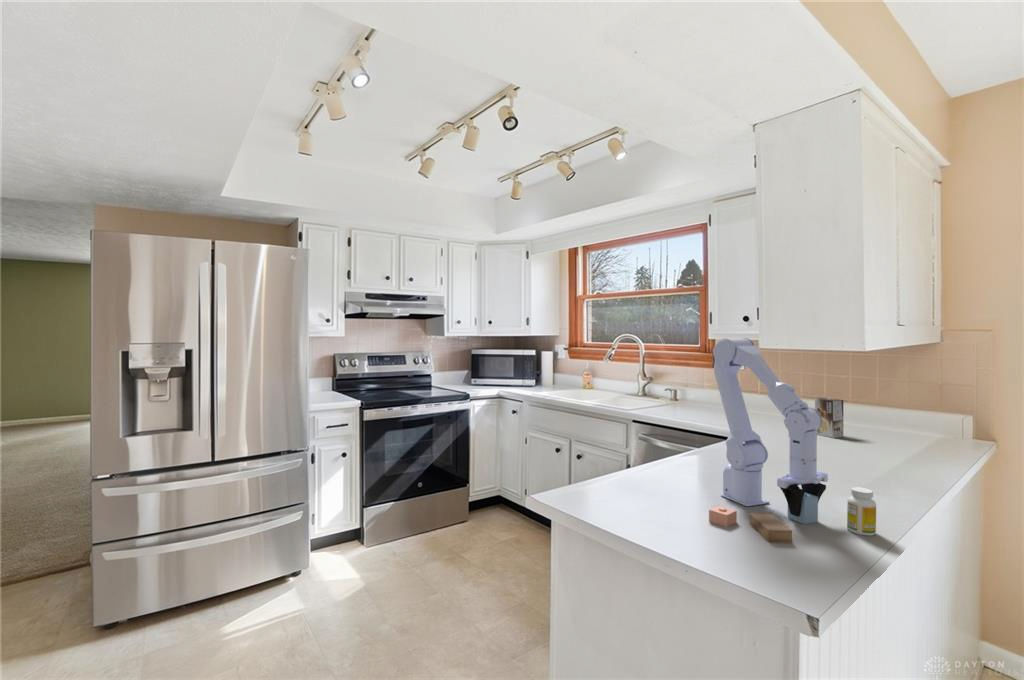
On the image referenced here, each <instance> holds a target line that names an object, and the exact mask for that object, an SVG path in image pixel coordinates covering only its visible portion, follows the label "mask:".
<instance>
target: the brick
mask: <svg viewBox="0 0 1024 680" xmlns="http://www.w3.org/2000/svg"><path fill="white" fill-rule="evenodd" d="M737 515H738V514H737V510H735V509H732V508H730V507H726V506H722V505H716V506H714V507H712V508H710V509H709V510H708V521H709V522H710V523H714V524H717V525H720V526H723V527H725V528H728V527H730V526H731V525H734V524H736V523H738V521H737Z"/></svg>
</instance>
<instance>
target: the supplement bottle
mask: <svg viewBox="0 0 1024 680" xmlns="http://www.w3.org/2000/svg"><path fill="white" fill-rule="evenodd" d="M850 491H851V492H850V494H851V496H848V498H847V510H846V511H847V513H846V515H847V517H846V523H847V524H846V525H847V526H846V528H847V530H848V531H850V532H851V533H853V534H857V535H860V536H875V535H876V532H877V503H876V501H875V500H874V499H873V497H874V491H873V490H872V489H871V488H870V489H869V488H866V487H860V486H859V487H858V486H855V487H851V490H850Z"/></svg>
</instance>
